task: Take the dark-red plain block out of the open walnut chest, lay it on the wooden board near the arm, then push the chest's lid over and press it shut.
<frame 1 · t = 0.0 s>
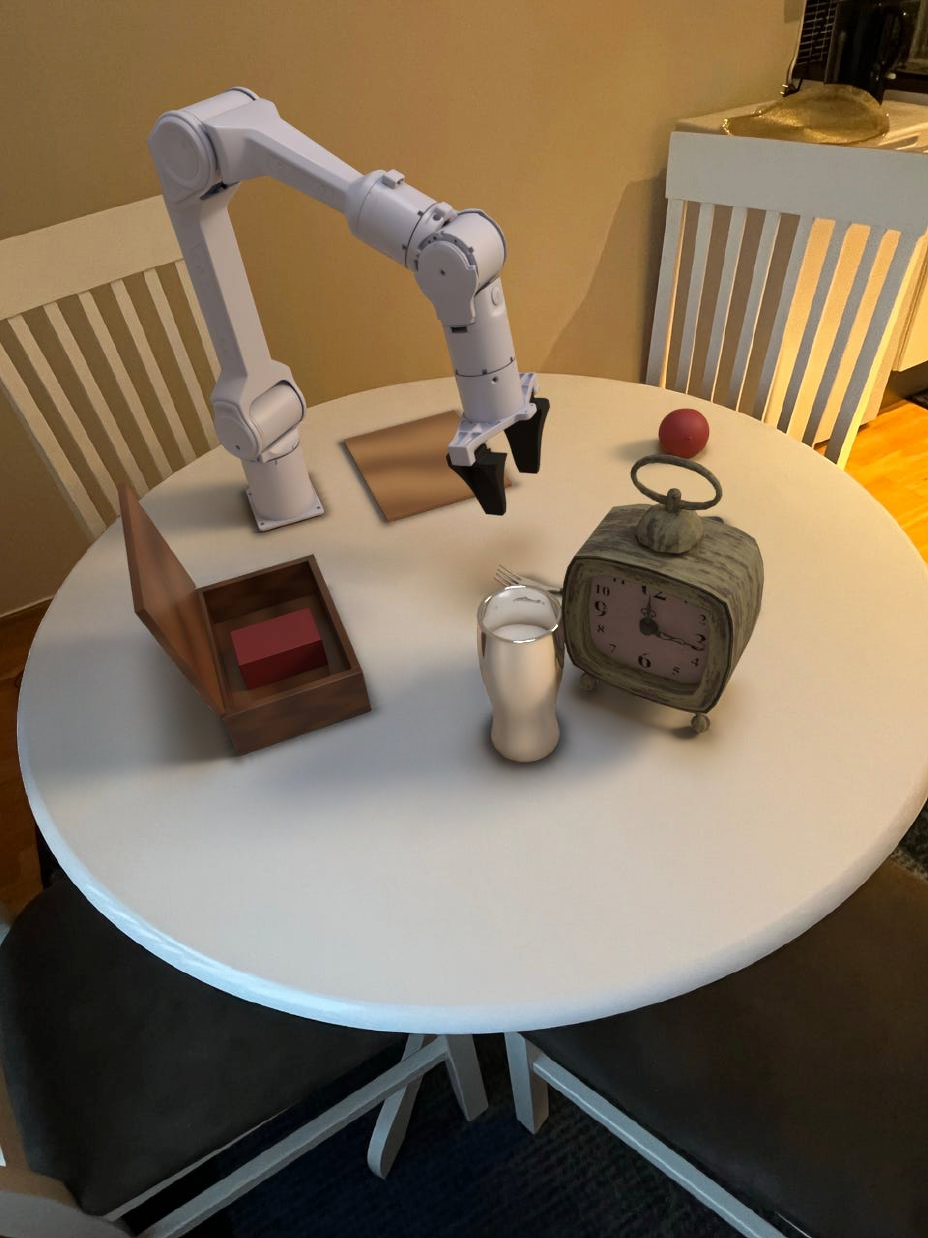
hand: (513, 491, 83), 11 cm above the table, tool pointing down, fingers open, 7 cm apart
lid: (169, 596, 73), point 12 cm above the table, hinge at 100.0°
wooden board: (424, 463, 107), on the table
beer glass: (525, 736, 74), on the table
dark-red plain block: (283, 660, 82), point 1 cm above the table, touching chest
smartphone: (697, 566, 89), on the table
tabletop clock: (653, 689, 77), on the table
fruit: (682, 456, 104), on the table
chest: (285, 666, 83), on the table
fork: (570, 596, 87), on the table
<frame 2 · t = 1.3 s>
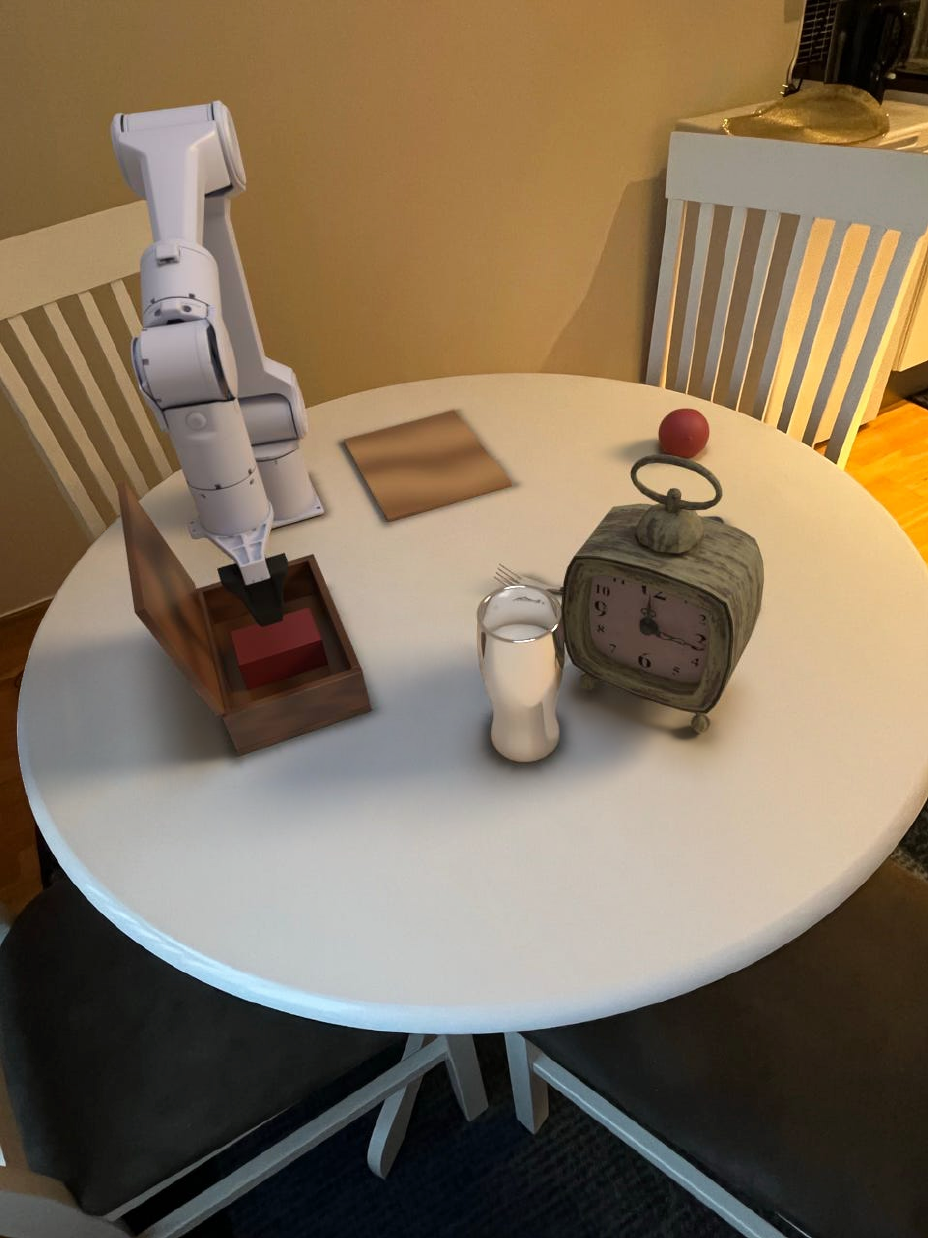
hand: (262, 595, 76), 9 cm above the table, tool pointing down, fingers open, 7 cm apart
nothing on the table moved.
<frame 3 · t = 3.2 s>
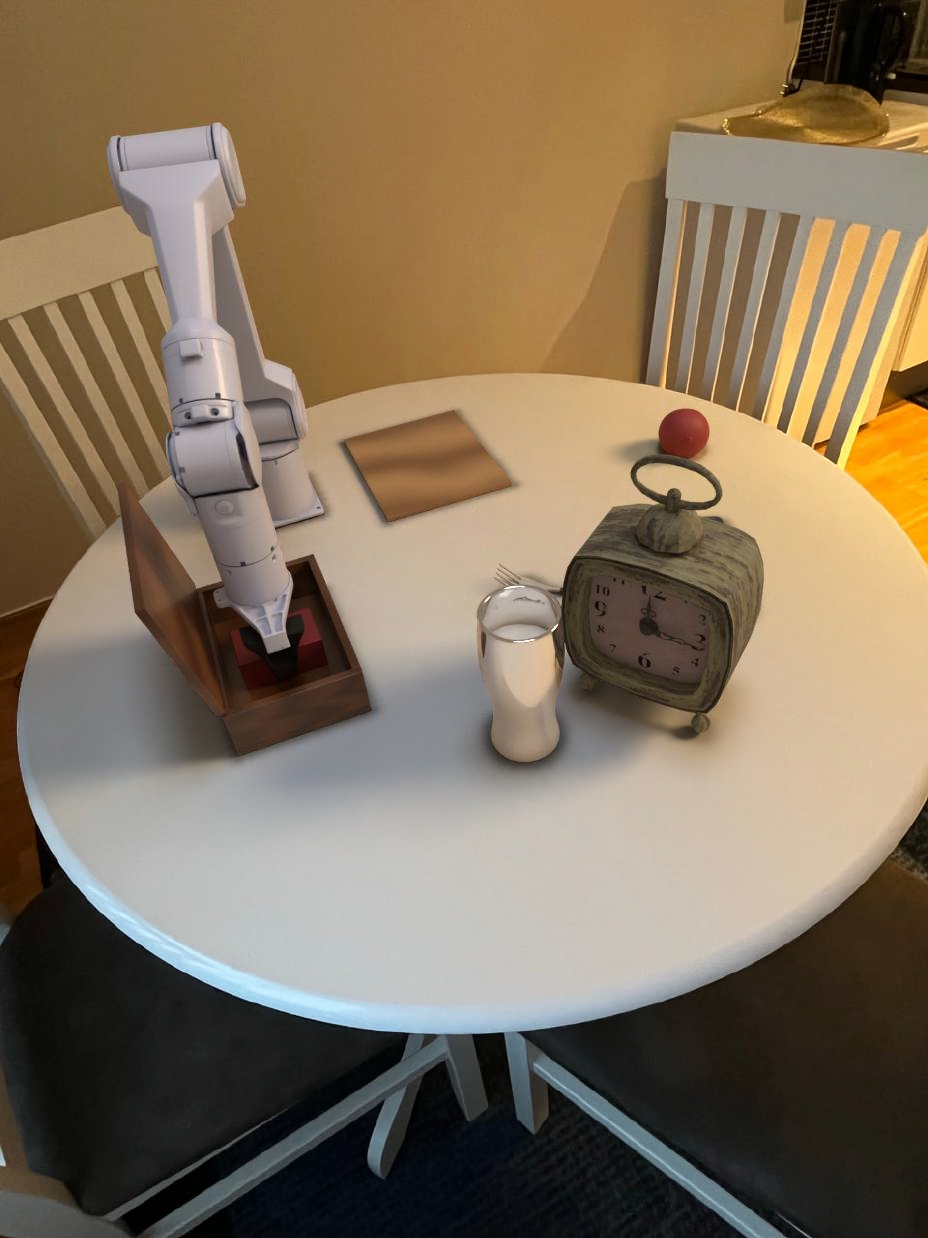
hand: (281, 654, 82), 2 cm above the table, tool pointing down, fingers closed on dark-red plain block, 5 cm apart
dark-red plain block: (283, 660, 82), point 1 cm above the table, touching chest, gripper
everything else where it was.
when the fingers open (1 cm above the table, at t = 9.8 s): dark-red plain block stays where it is, resting on wooden board.
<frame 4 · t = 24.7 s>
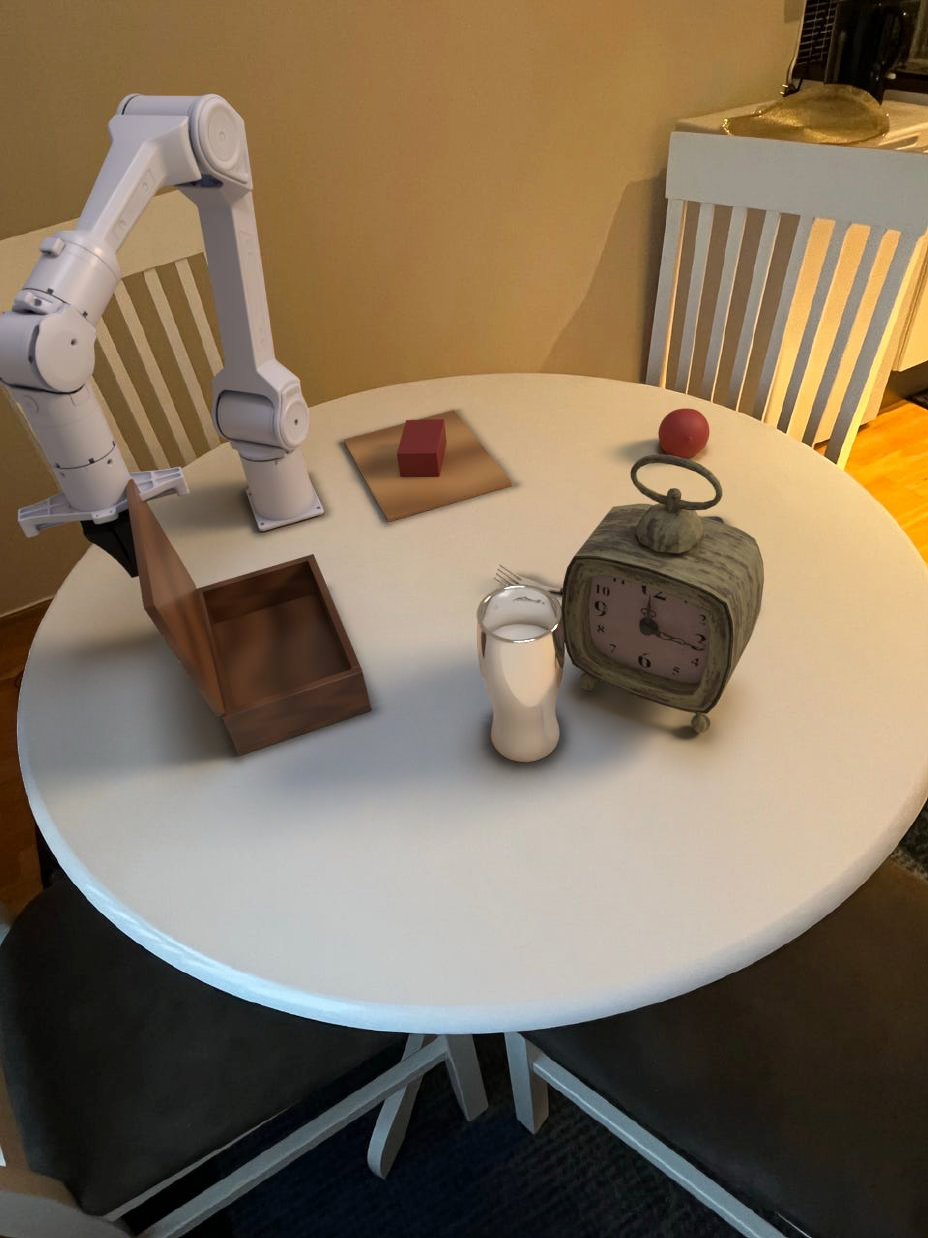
hand: (137, 570, 81), 9 cm above the table, tool pointing down, fingers closed
lid: (173, 594, 73), point 12 cm above the table, hinge at 96.9°, touching gripper
dark-red plain block: (424, 459, 107), resting on wooden board
everything else where it was.
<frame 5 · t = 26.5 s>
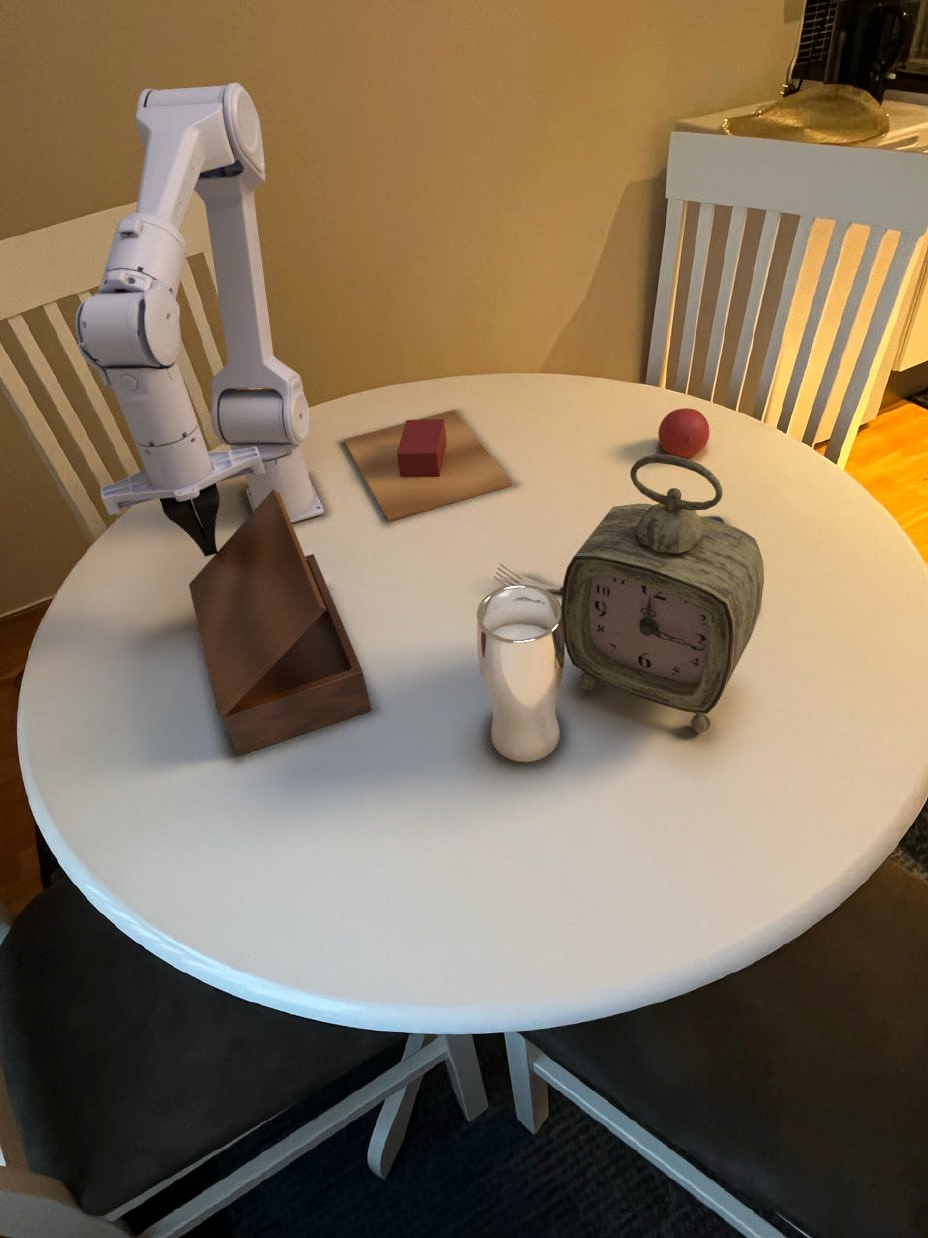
hand: (210, 549, 83), 9 cm above the table, tool pointing down, fingers closed
lid: (250, 595, 76), point 10 cm above the table, hinge at 37.0°, touching gripper
everything else where it was.
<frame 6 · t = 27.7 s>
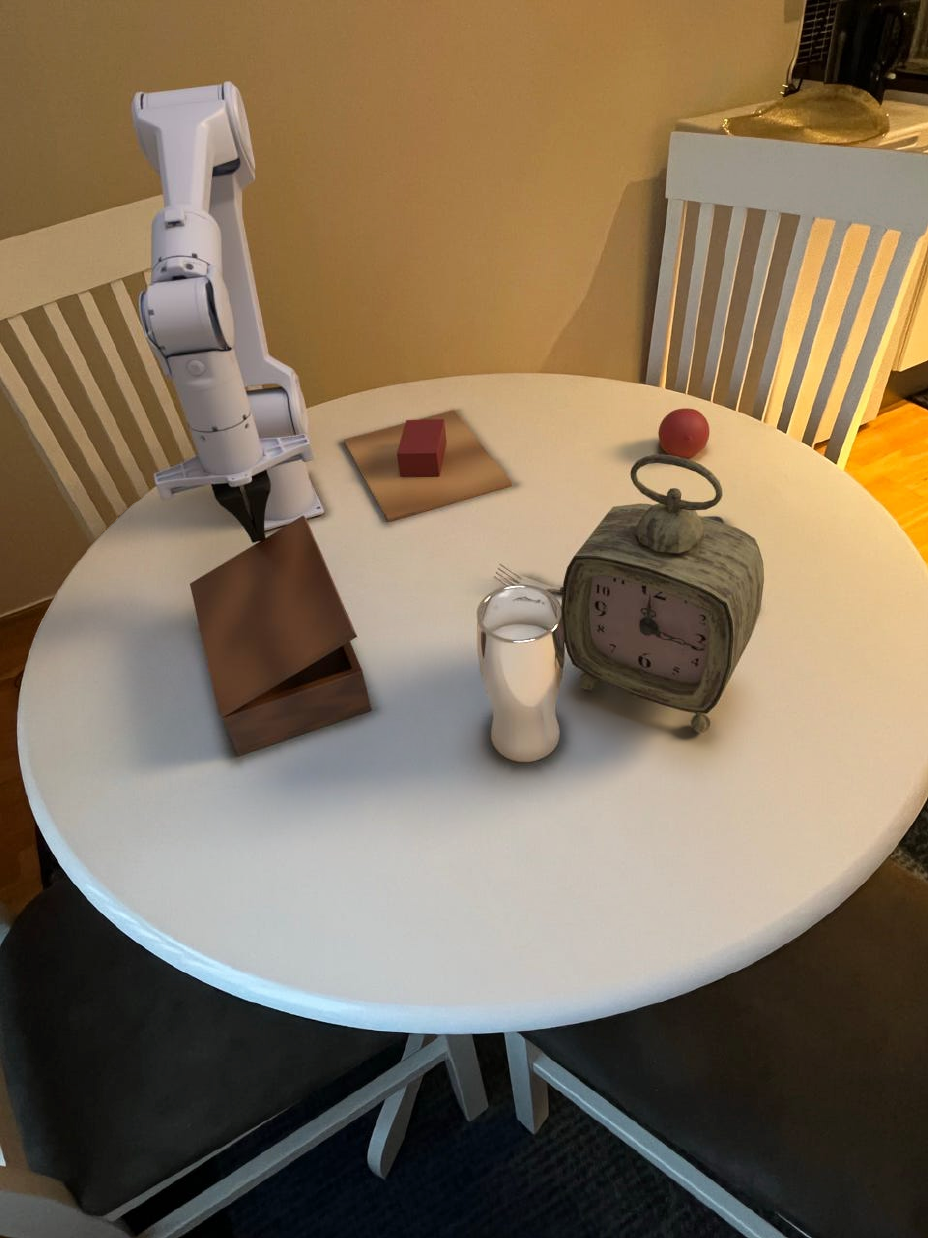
hand: (257, 535, 84), 9 cm above the table, tool pointing down, fingers closed
lid: (266, 608, 77), point 8 cm above the table, hinge at 18.1°
everything else where it was.
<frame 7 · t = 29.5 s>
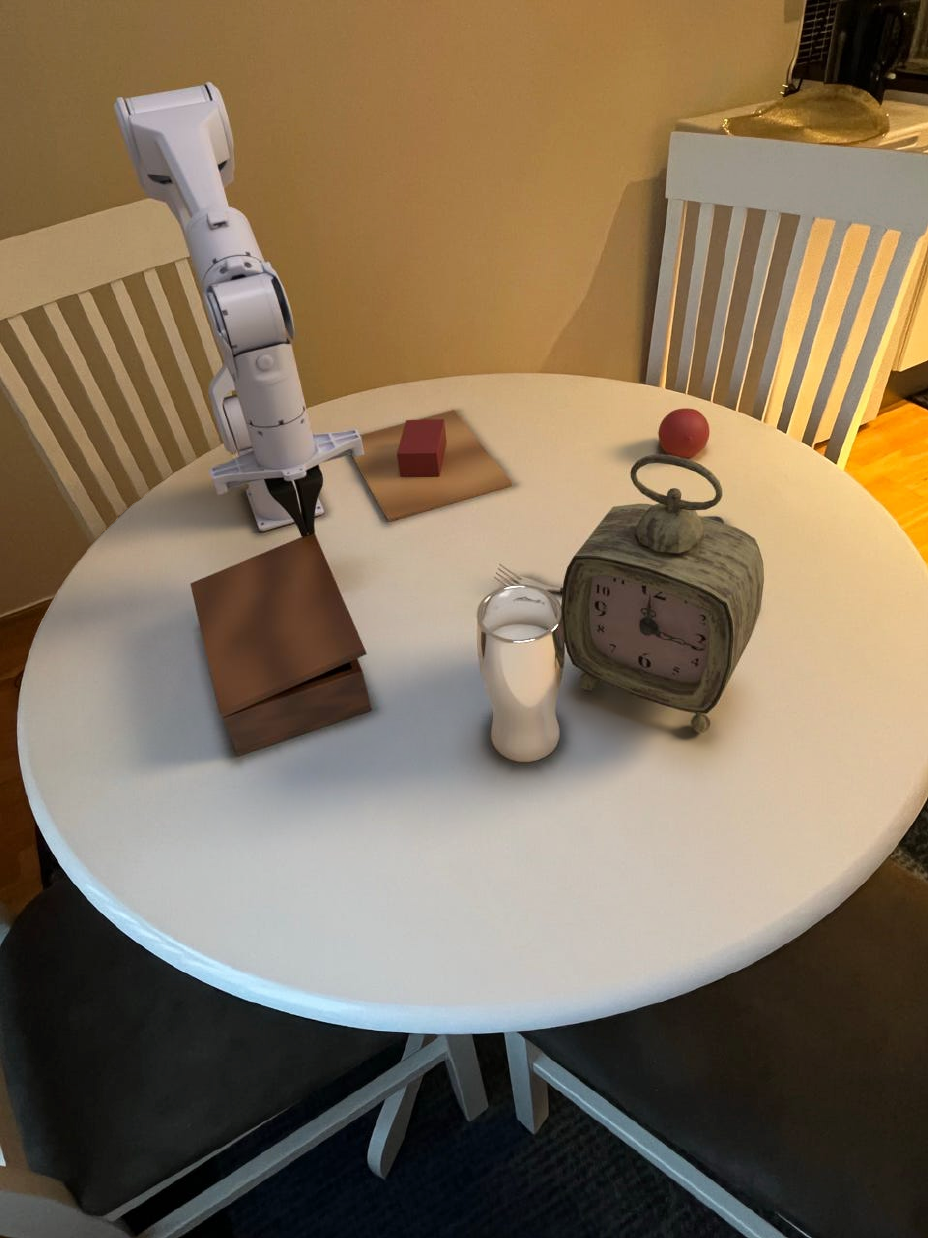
hand: (306, 529, 85), 8 cm above the table, tool pointing down, fingers closed
lid: (272, 616, 78), point 7 cm above the table, hinge at 7.9°
everything else where it was.
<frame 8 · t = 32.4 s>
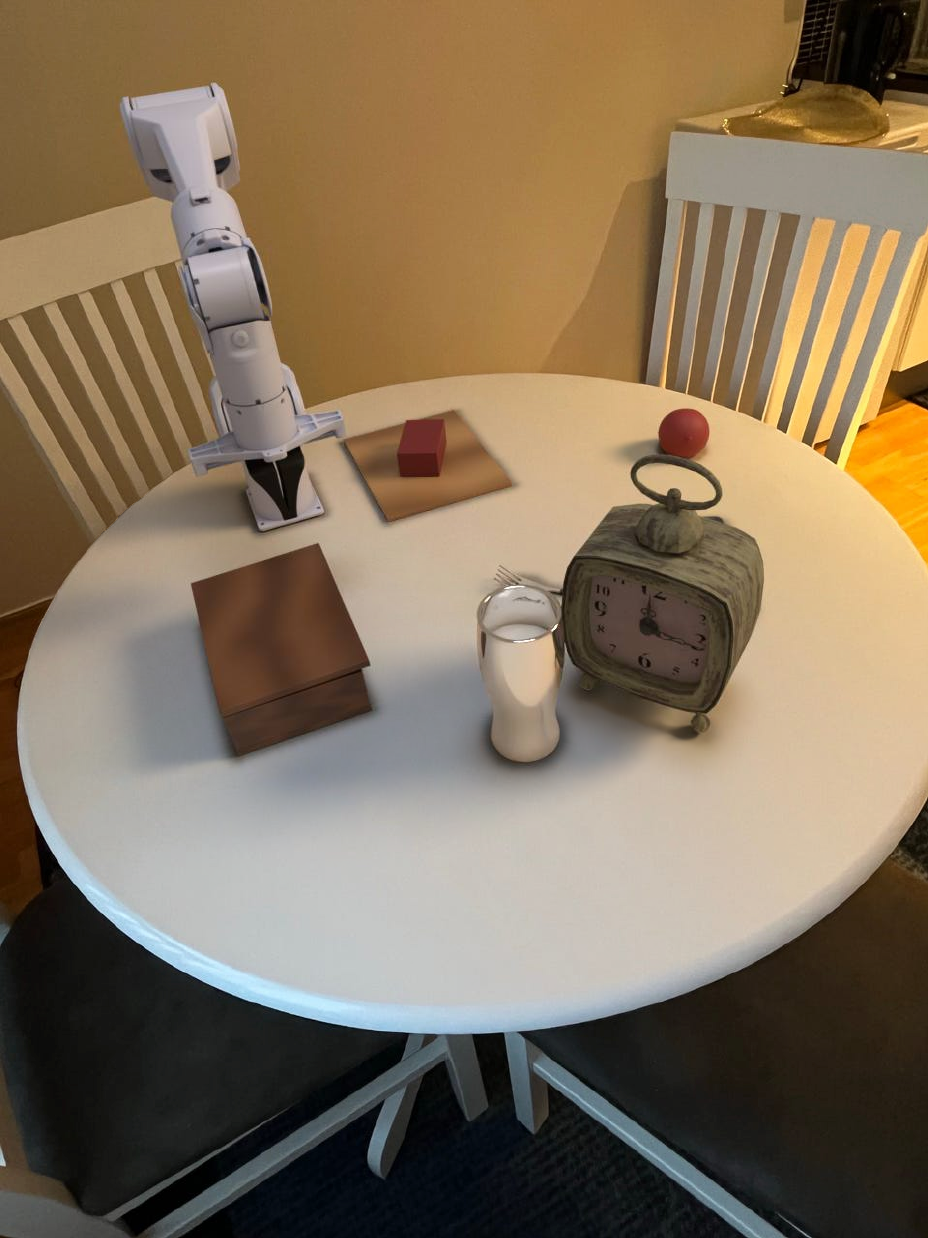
hand: (288, 513, 84), 10 cm above the table, tool pointing down, fingers closed
lid: (275, 621, 79), point 6 cm above the table, hinge at 1.4°
everything else where it was.
at the end: dark-red plain block inside the target area on the wooden board (0.1 cm from its centre), point 0.5 cm above the wooden board's base; lid at +1° (first picture: +100°); the gripper is holding nothing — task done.
